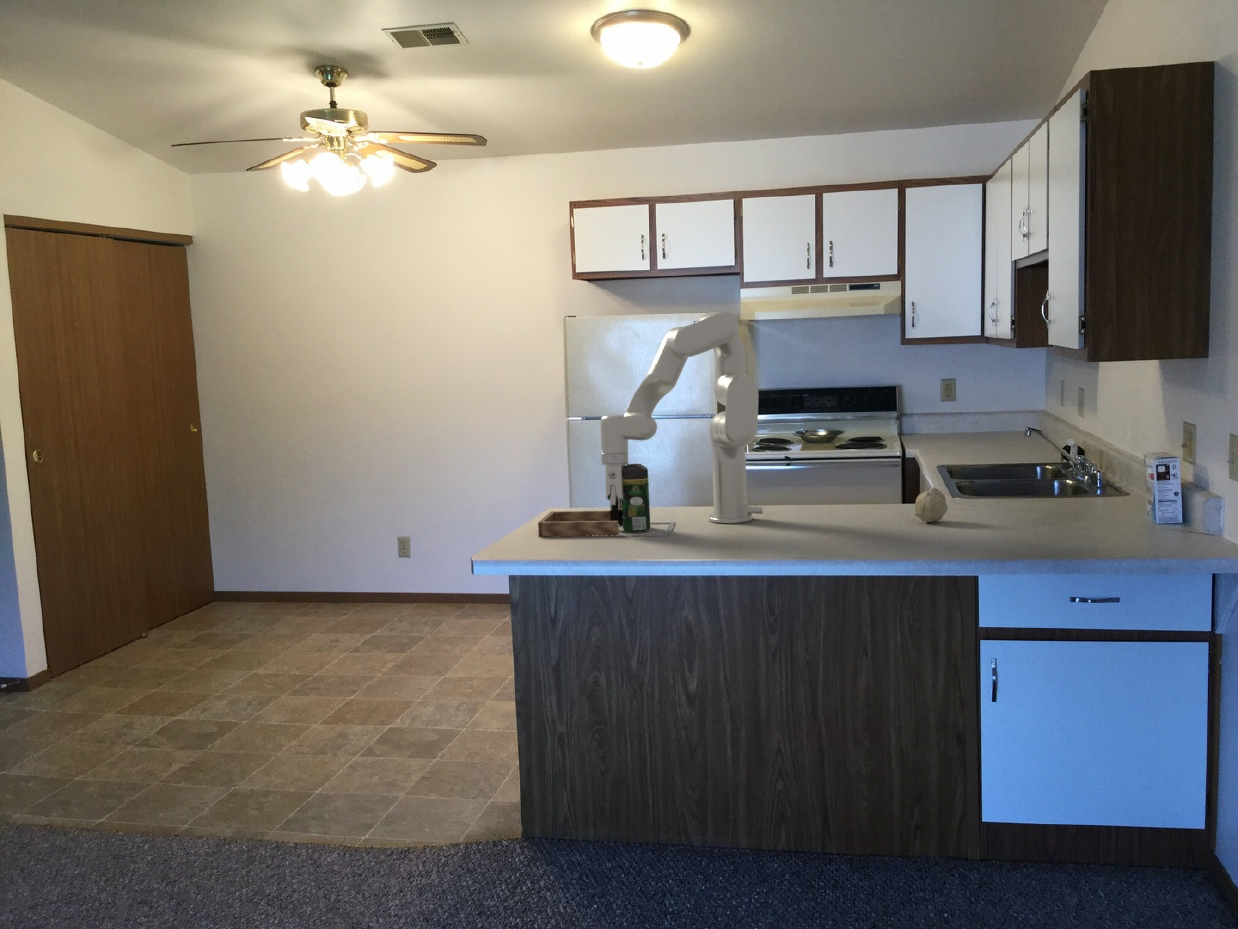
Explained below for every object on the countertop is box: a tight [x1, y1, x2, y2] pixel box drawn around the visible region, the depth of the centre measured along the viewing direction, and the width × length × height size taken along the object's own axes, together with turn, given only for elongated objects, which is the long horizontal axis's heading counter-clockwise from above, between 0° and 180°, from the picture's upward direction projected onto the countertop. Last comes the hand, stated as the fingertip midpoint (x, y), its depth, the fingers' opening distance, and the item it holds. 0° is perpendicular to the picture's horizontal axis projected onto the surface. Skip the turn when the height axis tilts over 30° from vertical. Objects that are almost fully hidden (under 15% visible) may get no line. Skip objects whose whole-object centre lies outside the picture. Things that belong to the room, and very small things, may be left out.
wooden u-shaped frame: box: [537, 510, 623, 537], centre depth 275 cm, size 22×17×4 cm
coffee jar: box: [621, 463, 651, 533], centre depth 272 cm, size 10×8×19 cm
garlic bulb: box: [914, 487, 949, 523], centre depth 266 cm, size 10×8×10 cm
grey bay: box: [617, 521, 677, 537], centre depth 273 cm, size 14×19×1 cm
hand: (616, 523), depth 273 cm, fingers closed
